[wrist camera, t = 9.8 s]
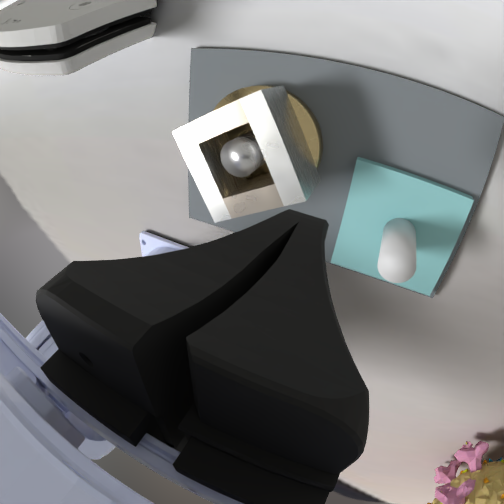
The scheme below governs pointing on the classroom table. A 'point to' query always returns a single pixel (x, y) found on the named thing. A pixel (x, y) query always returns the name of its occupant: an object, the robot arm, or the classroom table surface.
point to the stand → (399, 226)
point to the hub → (247, 148)
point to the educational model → (471, 478)
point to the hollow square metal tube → (272, 147)
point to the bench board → (354, 129)
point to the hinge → (69, 33)
